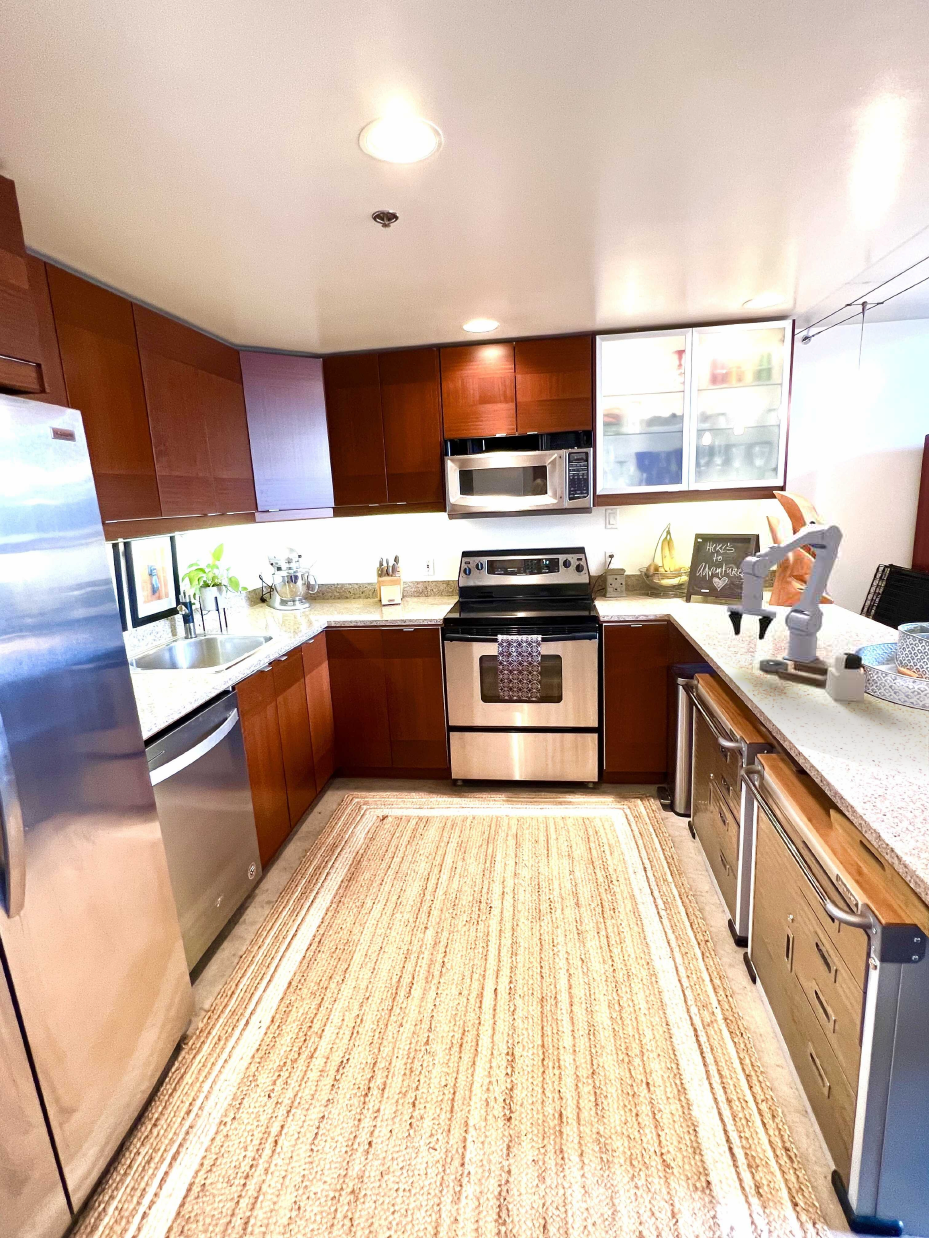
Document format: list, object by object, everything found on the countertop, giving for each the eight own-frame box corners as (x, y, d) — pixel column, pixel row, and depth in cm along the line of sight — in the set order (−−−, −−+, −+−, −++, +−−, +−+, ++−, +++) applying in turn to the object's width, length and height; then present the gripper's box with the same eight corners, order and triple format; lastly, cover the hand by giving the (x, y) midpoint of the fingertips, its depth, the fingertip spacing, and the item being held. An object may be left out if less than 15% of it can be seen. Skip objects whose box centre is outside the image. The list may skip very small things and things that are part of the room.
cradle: (795, 667, 183) (795, 661, 183) (838, 676, 174) (839, 670, 173) (777, 676, 175) (778, 670, 175) (822, 686, 166) (822, 680, 166)
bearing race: (765, 664, 188) (766, 657, 187) (792, 670, 182) (792, 662, 181) (754, 670, 183) (755, 662, 182) (780, 676, 177) (781, 668, 176)
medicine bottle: (853, 692, 161) (859, 651, 158) (863, 702, 154) (869, 659, 152) (825, 691, 163) (829, 650, 160) (833, 700, 156) (838, 657, 154)
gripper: (723, 594, 185) (720, 635, 188) (770, 600, 174) (767, 643, 177) (734, 591, 189) (731, 631, 193) (780, 596, 178) (776, 639, 182)
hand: (749, 636), depth 185 cm, fingers open, 7 cm apart
